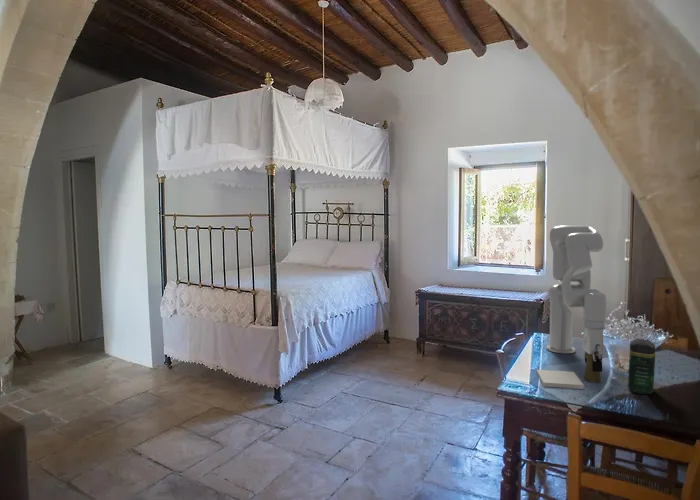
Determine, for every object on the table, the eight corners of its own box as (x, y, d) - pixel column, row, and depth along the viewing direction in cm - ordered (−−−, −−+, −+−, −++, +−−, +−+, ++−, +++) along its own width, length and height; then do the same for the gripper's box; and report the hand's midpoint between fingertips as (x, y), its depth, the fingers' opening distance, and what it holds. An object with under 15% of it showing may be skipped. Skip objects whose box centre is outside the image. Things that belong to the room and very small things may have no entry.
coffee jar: (653, 397, 156) (655, 345, 155) (627, 392, 161) (629, 342, 159) (653, 387, 164) (655, 339, 163) (628, 383, 169) (630, 336, 167)
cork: (603, 382, 170) (604, 354, 169) (586, 381, 171) (587, 354, 170) (597, 377, 176) (598, 350, 175) (581, 376, 177) (582, 349, 176)
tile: (536, 373, 181) (536, 369, 181) (573, 375, 178) (573, 371, 178) (543, 386, 167) (543, 382, 167) (583, 389, 164) (583, 385, 164)
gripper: (577, 319, 181) (576, 360, 182) (590, 329, 164) (589, 374, 165) (597, 319, 179) (596, 361, 180) (612, 329, 162) (611, 375, 163)
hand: (593, 367), depth 173 cm, fingers open, 9 cm apart
